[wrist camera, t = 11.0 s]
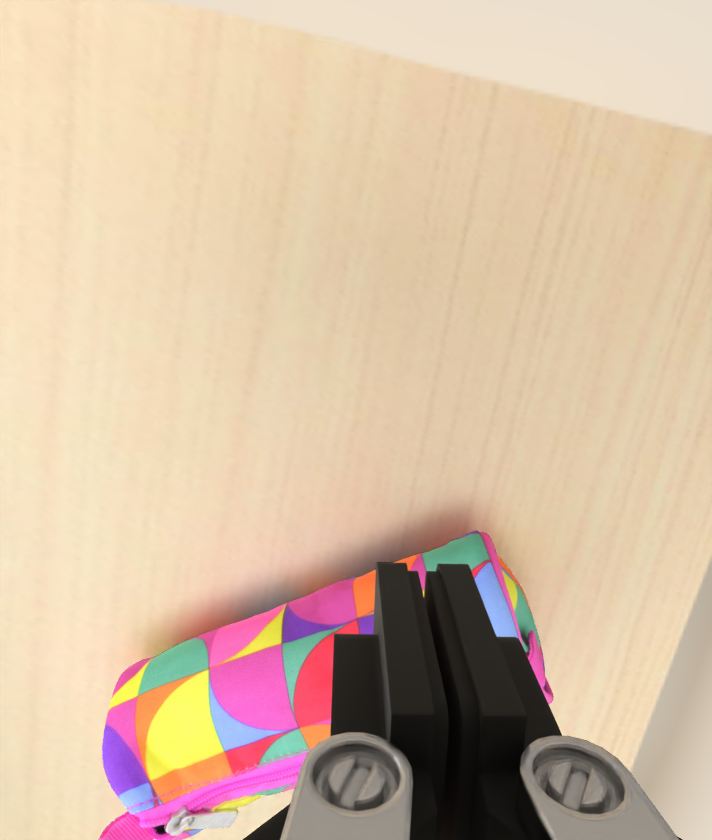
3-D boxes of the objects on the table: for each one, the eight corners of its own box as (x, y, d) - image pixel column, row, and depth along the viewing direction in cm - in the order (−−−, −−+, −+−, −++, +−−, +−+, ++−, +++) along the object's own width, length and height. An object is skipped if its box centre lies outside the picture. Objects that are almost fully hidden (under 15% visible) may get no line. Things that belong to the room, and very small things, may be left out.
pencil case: (197, 771, 38) (156, 925, 29) (116, 647, 36) (45, 774, 27) (535, 627, 36) (599, 746, 27) (472, 488, 34) (519, 568, 25)
